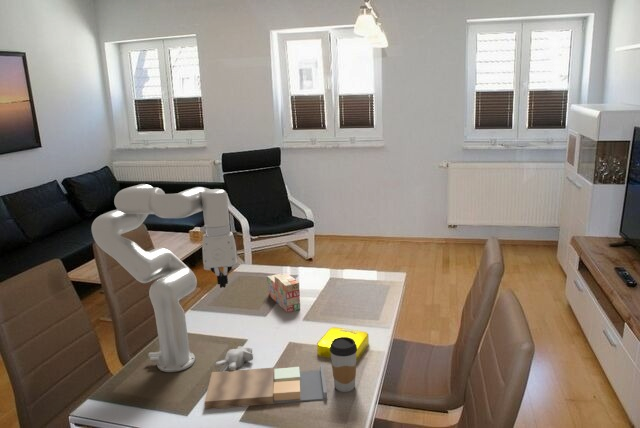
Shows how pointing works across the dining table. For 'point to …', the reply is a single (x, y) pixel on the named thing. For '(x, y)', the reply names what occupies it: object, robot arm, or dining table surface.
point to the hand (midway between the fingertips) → (223, 285)
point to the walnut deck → (240, 388)
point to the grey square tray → (310, 386)
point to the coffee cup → (343, 363)
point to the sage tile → (287, 374)
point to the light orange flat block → (286, 390)
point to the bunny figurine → (236, 357)
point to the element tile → (335, 332)
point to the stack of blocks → (284, 291)
